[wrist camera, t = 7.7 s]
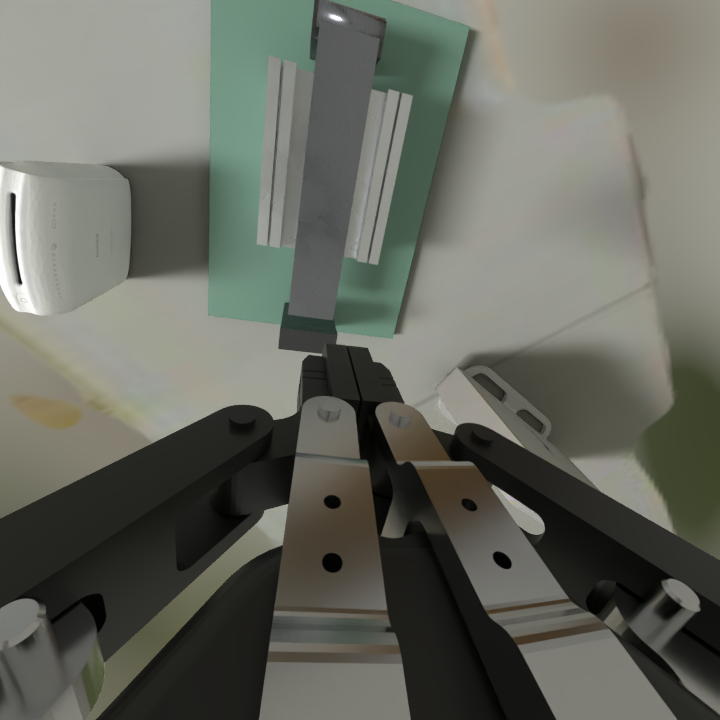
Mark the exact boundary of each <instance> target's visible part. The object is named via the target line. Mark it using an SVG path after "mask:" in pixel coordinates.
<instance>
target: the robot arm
mask: <svg viewBox="0 0 720 720" xmlns="http://www.w3.org/2000/svg"><path fill="white" fill-rule="evenodd" d="M492 485H495V486H496V487H498V488H499V489H501V490H502V491H504V492H505V493H507V494H508V495H510V496H511V497H513V498H514V499H516V500H517V501H519V502H520V503H522V504H523V505H525V506H526V507H528V508H529V509H531V510H532V511H534V512H535V513H537V514H538V515H539V516H540V518H541V519H542V521H543V523H544V525H545V531H544V532H543V533H542V534H540V535H533V534H530V533H528V532H526V531H525V530H523V529H522V528H521V527H519V526H518V525H517V524H516V522H515V521H514V519H513V518H512V517H511V515H510V514H509V512H508V511H507V509H506V508H505V507H504V505H503V504H502V502H501V501H500V499H499V498H498V497H497V495H496V494H495V492H494V491H493V489H492V488H491V487H492ZM285 504H288V510H287V517H286V525H285V532H284V539H283V545H282V546H279V547H277V548H274V549H272V550H269V551H267V552H265V553H263V554H261V555H259V556H257V557H256V558H254V559H252V560H251V561H249V562H248V563H247V564H245V565H244V566H242V567H241V568H240V569H239V570H237V571H236V572H235V573H234V574H233V575H231V577H229V578H228V579H227V580H226V582H225V583H223V585H222V586H221V587H220V588H219V589H218V590H217V591H216V592H215V593H214V594H213V595H212V596H211V597H210V599H209V600H208V601H207V602H206V603H205V604H204V605H203V606H202V607H201V608H200V609H199V610H198V611H197V612H196V613H195V614H194V616H193V617H192V618H191V619H190V620H189V621H188V622H187V623H186V624H185V625H184V626H183V627H182V628H181V629H180V630H179V632H178V633H177V634H176V635H175V636H174V637H173V638H172V639H171V640H170V641H169V642H168V643H167V644H166V646H165V647H164V648H163V649H162V650H161V651H160V652H159V653H158V654H157V655H156V656H155V657H154V658H153V659H152V660H151V661H150V663H149V664H148V665H147V666H146V667H145V668H144V669H143V670H142V671H141V672H140V673H139V674H138V676H136V678H135V679H134V680H133V681H132V682H131V683H130V684H129V685H128V686H127V687H126V688H125V689H124V690H123V691H122V692H121V693H120V695H119V696H118V697H117V698H116V699H115V700H114V701H113V702H112V703H111V704H110V705H109V706H108V707H107V708H106V709H105V711H104V712H103V713H102V714H101V715H100V716H99V717H98V718H97V719H96V720H720V560H718V559H716V558H715V557H713V556H711V555H709V554H708V553H706V552H704V551H702V550H701V549H699V548H697V547H695V546H693V545H692V544H690V543H688V542H687V541H685V540H683V539H682V538H680V537H678V536H676V535H675V534H673V533H671V532H669V531H668V530H666V529H664V528H662V527H661V526H659V525H657V524H655V523H654V522H652V521H650V520H648V519H647V518H645V517H643V516H642V515H640V514H638V513H636V512H635V511H633V510H631V509H629V508H628V507H626V506H624V505H622V504H621V503H619V502H617V501H615V500H614V499H612V498H610V497H608V496H607V495H605V494H603V493H601V492H600V491H598V490H596V489H595V488H593V487H591V486H589V485H588V484H586V483H584V482H582V481H581V480H579V479H577V478H575V477H574V476H572V475H570V474H568V473H567V472H565V471H563V470H561V469H560V468H558V467H556V466H554V465H553V464H551V463H549V462H548V461H546V460H544V459H542V458H541V457H539V456H537V455H535V454H534V453H532V452H530V451H528V450H527V449H525V448H523V447H521V446H520V445H518V444H516V443H514V442H513V441H511V440H509V439H507V438H506V437H504V436H502V435H501V434H499V433H497V432H495V431H494V430H492V429H490V428H488V427H485V426H483V425H480V424H476V423H462V424H460V425H458V426H457V428H456V430H455V433H454V435H451V434H447V433H444V432H440V431H436V430H433V429H431V428H430V426H429V424H428V423H427V421H426V420H425V418H424V417H423V415H422V414H421V413H420V412H419V411H418V410H416V409H415V408H413V407H411V406H409V405H406V404H405V403H404V401H403V399H402V397H401V394H400V392H399V390H398V388H397V387H396V383H395V381H394V380H393V377H392V375H391V373H390V370H388V369H387V368H386V367H385V366H384V365H383V364H381V363H377V362H373V360H372V358H371V355H370V352H369V350H368V348H363V347H355V346H346V345H337V344H329V343H325V344H324V348H323V354H322V356H313V355H308V356H307V357H306V358H305V359H304V360H303V361H302V369H301V376H300V384H299V391H298V398H297V413H296V414H294V415H293V416H290V417H288V418H284V419H279V420H273V418H272V416H271V415H270V414H269V413H268V412H267V411H265V410H264V409H261V408H259V407H256V406H251V405H234V406H229V407H226V408H223V409H221V410H219V411H217V412H215V413H213V414H211V415H209V416H207V417H205V418H203V419H201V420H199V421H197V422H195V423H193V424H191V425H189V426H187V427H185V428H183V429H181V430H179V431H177V432H175V433H172V434H170V435H168V436H166V437H164V438H162V439H160V440H158V441H156V442H154V443H152V444H151V445H148V446H146V447H144V448H142V449H140V450H138V451H136V452H134V453H132V454H130V455H128V456H126V457H124V458H122V459H120V460H118V461H116V462H114V463H112V464H110V465H108V466H106V467H104V468H102V469H100V470H98V471H96V472H94V473H92V474H90V475H88V476H86V477H84V478H82V479H80V480H78V481H76V482H74V483H72V484H70V485H68V486H66V487H64V488H61V489H59V490H57V491H56V492H54V493H51V494H49V495H47V496H45V497H43V498H41V499H39V500H37V501H35V502H33V503H31V504H30V505H27V506H25V507H23V508H21V509H19V510H17V511H15V512H13V513H11V514H9V515H7V516H5V517H3V518H1V519H0V720H85V719H86V718H87V717H88V715H89V714H90V712H91V711H92V709H93V707H94V705H95V704H96V702H97V700H98V697H99V695H100V692H101V690H102V686H103V682H104V674H105V666H104V662H105V661H107V660H108V659H109V658H110V657H111V656H112V655H113V654H114V653H115V652H116V651H117V650H119V649H120V648H121V647H122V646H123V645H124V644H125V643H126V642H127V641H128V640H130V639H131V638H132V637H133V636H134V635H135V634H136V633H137V632H138V631H139V630H140V629H142V628H143V627H144V626H145V625H146V624H147V623H148V622H149V621H150V620H151V619H152V618H154V617H155V616H156V615H157V614H158V613H159V612H160V611H161V610H162V609H163V608H164V607H166V606H167V605H168V604H169V603H170V602H171V601H172V600H173V599H174V598H175V597H176V596H177V595H179V594H180V593H181V592H182V591H183V590H184V589H185V588H186V587H187V586H188V585H190V584H191V583H192V582H193V581H194V580H195V579H196V578H197V577H198V576H199V575H200V574H201V573H203V572H204V571H205V570H206V569H207V568H208V567H209V566H210V565H211V564H212V563H213V562H215V561H216V560H217V559H218V558H219V557H220V556H221V555H222V554H223V553H224V552H225V551H227V550H228V549H229V548H230V547H231V546H232V545H233V544H234V543H235V542H236V541H237V540H239V539H240V538H241V537H242V536H243V535H244V534H245V533H246V532H247V531H248V530H249V529H251V528H252V527H253V526H254V525H255V524H256V523H257V522H258V521H259V520H260V519H261V517H262V516H263V513H264V510H267V509H270V508H274V507H278V506H282V505H285Z"/></svg>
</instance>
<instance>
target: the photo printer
mask: <svg viewBox="0 0 720 720" xmlns="http://www.w3.org/2000/svg"><path fill="white" fill-rule="evenodd" d="M130 248H131V191H130V185H129V181H128V179H125V178H124V177H123V176H122V175H121V174H120V173H119V172H118V171H116V170H114V169H112V168H110V167H108V166H104V165H91V164H76V163H59V162H43V161H17V162H0V284H1V287H2V290H3V292H4V294H5V295H6V297H7V299H8V301H9V302H10V304H11V305H12V307H13V308H14V309H15V310H17V311H19V312H30V313H34V314H36V315H56V314H63V313H67V312H70V311H73V310H75V309H77V308H78V307H80V306H82V305H84V304H86V303H87V302H89V301H91V300H93V299H94V298H96V297H98V296H100V295H101V294H103V293H105V292H107V291H108V290H110V289H112V288H114V287H115V286H117V285H119V284H120V283H122V282H124V281H125V280H126V278H127V275H128V271H129V264H130Z"/></svg>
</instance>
